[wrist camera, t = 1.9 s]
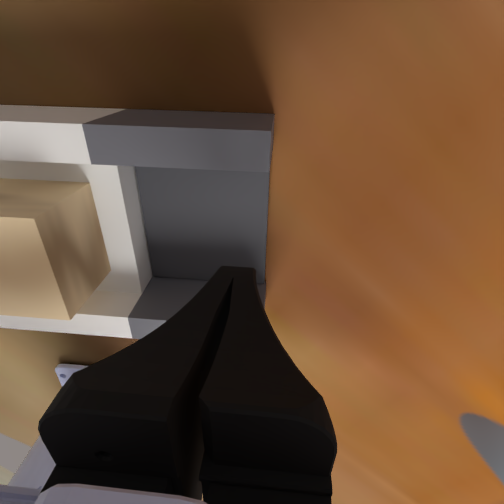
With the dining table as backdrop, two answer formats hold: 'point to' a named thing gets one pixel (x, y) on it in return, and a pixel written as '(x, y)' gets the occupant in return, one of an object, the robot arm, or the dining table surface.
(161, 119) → the trap box
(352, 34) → the dining table surface
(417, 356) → the dining table surface
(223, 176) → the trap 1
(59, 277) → the maple block
